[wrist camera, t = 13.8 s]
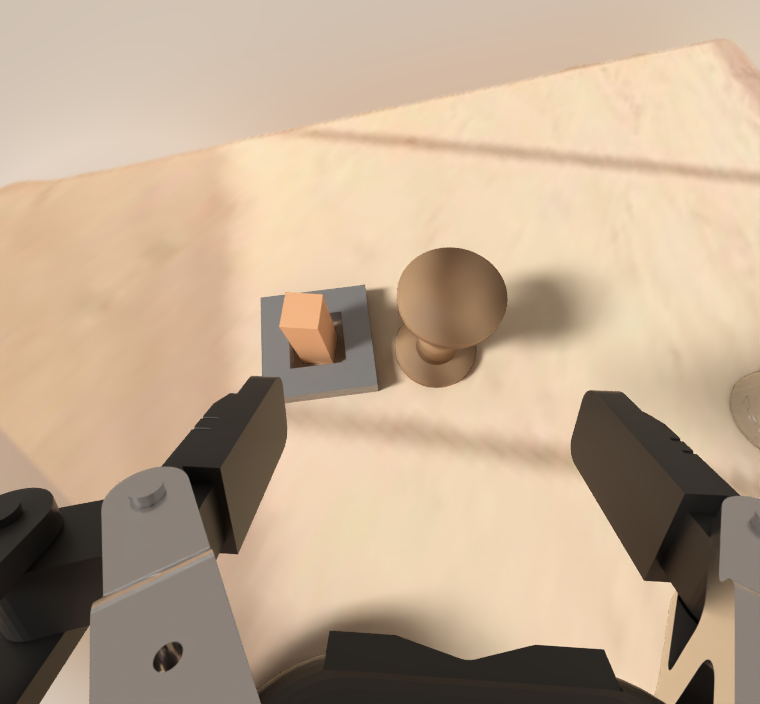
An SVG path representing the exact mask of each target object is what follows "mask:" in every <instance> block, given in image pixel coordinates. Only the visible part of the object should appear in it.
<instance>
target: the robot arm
mask: <svg viewBox="0 0 760 704" xmlns="http://www.w3.org/2000/svg"><path fill="white" fill-rule="evenodd" d="M730 404H731V411H732V414H733V417H734V420H735V422H736V424H737V425H738V427H739V429H740V430H741V431H742V433H743V434H744V435H745V436H746V438H747V439H749V440H750V441H751V442H752V443H753V444H754V445H755V446H757V447H758V448H760V371H758V372H755V373H752V374H749V375H747V376H745V377H743V378H742V379H740V380H739V381H738V382H737V384H736V385H735V386H734V388H733V391H732V393H731V400H730ZM286 438H287V420H286V410H285V400H284V391H283V383H282V380H281V378H280V377H264V376H251V377H250V378H249V379H248V380H247V382H246V383H245V384H244V386H243V387H242V388H241V389H240V391H239V392H238V393H237V394H234V393H230V394H228V395H227V396H225V397H223V398H222V399H220V400H219V401H217V402H215V403H214V404H213V405H212V406H211V407H210V409H209V410H208V411H207V412H206V413H205V415H204V416H203V419H200V421H199V422H198V423H197V424H196V425H195V428H194V430H193V429H192V430H191V431H190V433H189V434H188V435H187V436H186V437H185V439H184V440H183V441H182V442H181V444H180V445H179V446H178V447H177V448H176V450H175V451H174V452H173V453H172V454H171V456H170V457H169V458H168V459H167V460H166V462H165V463H164V464H163V465H162V466H161V467H156V468H151V469H147V470H144V471H141V472H138V473H136V474H134V475H132V476H130V477H128V478H126V479H125V480H123V481H122V482H120V483H119V484H117V485H116V486H115V487H114V488H113V489H112V490H111V491H110V492H109V493H108V494H107V496H106V497H105V499H104V500H100V501H94V502H89V503H83V504H78V505H72V506H67V507H62V508H58V506H57V504H56V502H55V499H54V497H53V495H52V494H51V493H50V492H49V491H47V490H45V489H41V488H26V489H20V490H15V491H11V492H8V493H5V494H2V495H0V704H39V703H40V702H41V700H42V699H43V697H44V695H45V694H46V692H47V691H48V689H49V688H50V686H51V684H52V683H53V681H54V680H55V678H56V677H57V675H58V674H59V672H60V670H61V669H62V667H63V666H64V664H65V663H66V661H67V660H68V658H69V656H70V655H71V653H72V652H73V650H74V649H75V647H76V645H77V644H78V642H79V641H80V639H81V638H82V636H83V635H84V633H85V631H86V630H87V628H88V627H89V625H90V699H89V701H90V702H89V703H90V704H760V499H757V498H752V497H747V496H740V495H739V494H738V493H737V492H736V491H735V490H734V489H733V488H732V487H731V486H730V485H729V484H728V483H726V482H725V481H724V480H723V479H722V478H721V477H720V476H719V475H718V474H717V473H716V472H715V471H714V470H713V469H712V468H711V467H710V466H709V465H707V464H706V463H705V462H704V461H703V460H702V459H701V458H700V457H699V456H698V455H697V454H693V450H692V449H691V448H690V447H688V446H687V445H686V444H685V443H684V442H681V441H680V438H679V437H678V436H677V435H676V434H675V433H674V432H673V431H672V430H671V429H670V428H668V427H667V426H666V425H665V424H664V423H662V422H660V421H659V420H657V419H655V418H654V417H652V416H650V415H648V414H647V413H645V412H642V411H641V410H640V409H639V408H638V407H637V406H636V405H635V404H634V403H633V402H632V401H631V400H630V399H629V398H628V397H627V396H626V395H625V394H624V393H622V392H618V391H593V390H590V391H587V392H586V393H585V395H584V397H583V399H582V403H581V406H580V410H579V414H578V417H577V421H576V424H575V428H574V432H573V435H572V439H571V455H572V459H573V461H574V464H575V465H576V467H577V469H578V470H579V472H580V474H581V475H582V477H583V479H584V481H585V482H586V484H587V486H588V487H589V489H590V491H591V492H592V494H593V496H594V497H595V499H596V501H597V502H598V504H599V506H600V507H601V509H602V511H603V512H604V514H605V516H606V517H607V519H608V521H609V522H610V524H611V526H612V528H613V529H614V531H615V533H616V534H617V536H618V538H619V539H620V541H621V543H622V544H623V546H624V548H625V549H626V551H627V553H628V554H629V556H630V558H631V559H632V561H633V563H634V564H635V566H636V568H637V569H638V571H639V573H640V574H641V576H642V578H643V580H644V581H658V582H671V583H672V585H673V586H674V588H675V589H676V591H675V593H674V595H673V597H672V599H671V602H670V607H669V614H668V620H667V627H666V633H665V640H664V646H663V653H662V659H661V666H660V672H659V678H658V683H657V687H656V691H655V694H654V696H653V695H651V694H650V693H648V692H646V691H644V690H643V689H641V688H639V687H637V686H635V685H632V684H630V683H628V682H626V681H624V680H622V679H619V678H616V677H615V674H614V672H613V670H612V667H611V665H610V663H609V660H608V658H607V656H606V653H605V651H604V650H602V649H588V648H573V647H559V646H544V645H533V646H528V647H524V648H520V649H516V650H512V651H508V652H504V653H500V654H496V655H492V656H488V657H484V658H480V659H476V660H463V659H460V658H457V657H454V656H451V655H449V654H446V653H443V652H440V651H437V650H435V649H432V648H429V647H426V646H424V645H421V644H418V643H415V642H413V641H410V640H407V639H404V638H402V637H399V636H396V635H384V634H370V633H355V632H341V631H330V632H329V638H328V645H327V651H326V654H324V655H320V656H316V657H313V658H310V659H308V660H305V661H303V662H300V663H298V664H296V665H294V666H292V667H290V668H288V669H286V670H285V671H283V672H281V673H280V674H278V675H277V676H275V677H274V678H273V679H271V680H270V681H268V682H267V683H265V684H264V685H263V686H262V687H261V688H260V689H259V690H256V687H255V683H254V680H253V677H252V674H251V671H250V667H249V664H248V661H247V658H246V655H245V651H244V648H243V645H242V642H241V639H240V636H239V632H238V629H237V626H236V623H235V620H234V616H233V613H232V610H231V607H230V604H229V600H228V597H227V594H226V591H225V588H224V584H223V581H222V578H221V575H220V572H219V568H218V565H217V562H216V559H217V557H218V555H219V553H227V554H238V553H239V551H240V548H241V546H242V544H243V541H244V539H245V537H246V535H247V532H248V530H249V528H250V525H251V523H252V521H253V518H254V516H255V514H256V512H257V509H258V507H259V505H260V502H261V500H262V498H263V496H264V493H265V491H266V489H267V486H268V484H269V482H270V479H271V477H272V475H273V473H274V470H275V468H276V466H277V463H278V461H279V459H280V457H281V454H282V452H283V450H284V447H285V443H286Z"/></svg>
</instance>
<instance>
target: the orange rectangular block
mask: <svg viewBox="0 0 760 704" xmlns="http://www.w3.org/2000/svg"><path fill="white" fill-rule="evenodd" d="M279 327H280V329H281V330H282V332H283V333H284V335H285V336H286V338H287V339H288V341H289V342H290V344H291V345H292V347H293V348H294V350H295V351H296V352H297V354H298V355H299V357H300V358H301V360H302V361H303V363H317V364H332V363H334V359H335V351H336V343H337V334H336V331H335V328H334V325H333V322H332V319H331V316H330V313H329V311H328V308H327V305H326V302H325V299H324V296H323V294H307V293H289V292H285V297H284V303H283V308H282V314H281V319H280V325H279Z"/></svg>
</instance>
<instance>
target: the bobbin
mask: <svg viewBox="0 0 760 704" xmlns="http://www.w3.org/2000/svg"><path fill="white" fill-rule="evenodd" d="M397 306H398V311H399V314H400V316H401V319H402V321H403V322H404V324H403V325H402V327H401V328H400V330H399V332H398V335H397V338H396V347H395V351H396V358H397V361H398V364H399V366H400V367H401V369H402V370H403V372H404V373H405V374H406V375H407V376H408V377H409V378H410V379H411V380H413V381H415V382H416V383H418V384H421V385H423V386H427V387H434V388H439V387H446V386H450V385H452V384H454V383H457V382H458V381H460V380H461V379H462V378H463V377H464V376H465V375H466V374H467V373H468V372H469V370H470V369H471V367H472V365H473V363H474V361H475V357H476V344H478V343H480V342H482V341H483V340H485V339H486V338H488V337H489V336H490V335H491V334H492V333H493V332H494V331H495V329H496V328H497V326H498V325H499V323H500V322H501V320H502V318H503V316H504V314H505V311H506V307H507V290H506V286H505V283H504V280H503V279H502V277H501V275H500V273H499V272H498V270H497V269H496V268H495V267H494V266H493V265H492V264H491V263H490V262H489V261H488V260H486V259H485V258H483V257H482V256H480V255H478V254H476V253H474V252H471V251H469V250H465V249H460V248H439V249H434V250H431V251H428V252H426V253H423V254H422V255H420V256H418V257H417V258H415V259H414V260H413V261H412V262H411V263H410V264H409V265H408V266H407V267H406V268H405V270H404V271H403V273H402V275H401V277H400V280H399V283H398V288H397Z"/></svg>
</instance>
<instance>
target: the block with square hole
mask: <svg viewBox="0 0 760 704" xmlns="http://www.w3.org/2000/svg"><path fill="white" fill-rule="evenodd" d="M303 293H307V294H323V296H324V299H325V302H326V305H327V308H328V311H329V313H330V316H331V319H332V322H339V321H342V324H343V334H344V344H345V354H346V362H340V363H332V364H324V365H316V366H308V367H301V368H295V351H294V348H293V347H292V345H291V344H290V342H289V341H288V339H287V338H286V336H285V335H284V333H283V332H282V330H281V329H280V327H279V325H280V319H281V314H282V308H283V303H284V297H285V295H279V296H271V297H263V298H261V341H262V376H264V377H280V378H281V380H282V383H283V391H284V400H285V403H290V402H298V401H305V400H313V399H321V398H329V397H336V396H344V395H352V394H360V393H367V392H375V391H378V384H377V376H376V369H375V361H374V353H373V345H372V337H371V329H370V322H369V314H368V306H367V298H366V290H365V285H360V286H352V287H344V288H336V289H327V290H319V291H311V292H303Z"/></svg>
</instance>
